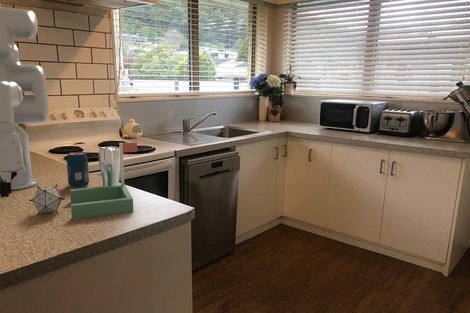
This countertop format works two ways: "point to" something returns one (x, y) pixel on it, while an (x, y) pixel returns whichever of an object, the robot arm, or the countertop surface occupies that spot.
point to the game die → (47, 199)
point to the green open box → (104, 195)
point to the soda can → (77, 169)
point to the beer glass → (109, 165)
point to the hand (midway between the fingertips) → (5, 196)
